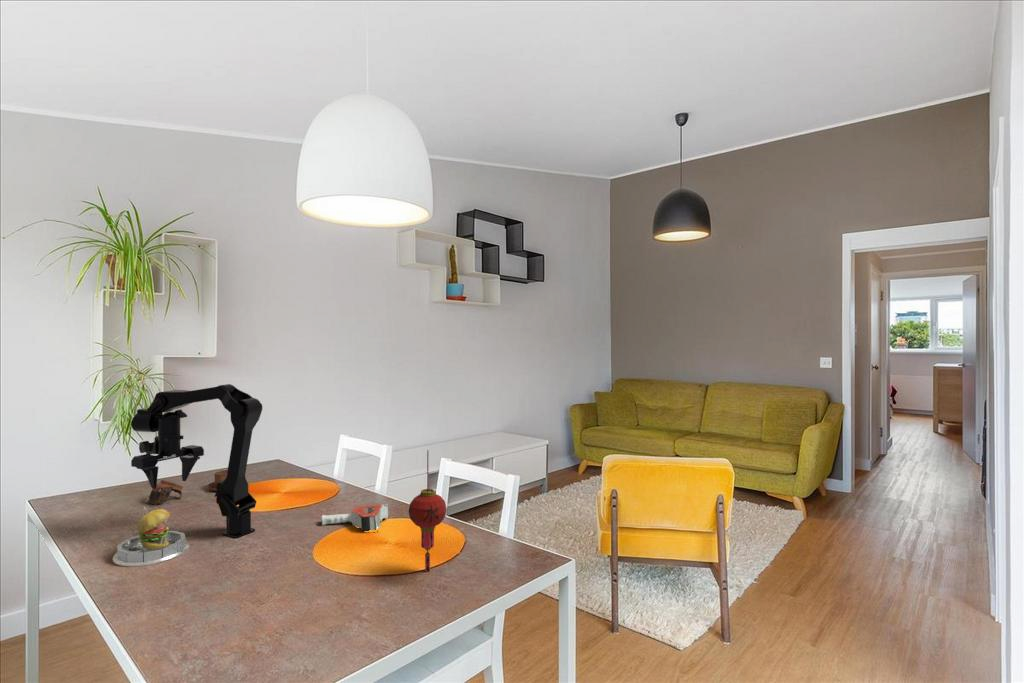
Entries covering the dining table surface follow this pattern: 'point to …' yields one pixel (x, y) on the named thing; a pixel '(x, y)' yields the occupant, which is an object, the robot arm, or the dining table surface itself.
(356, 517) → the tape dispenser
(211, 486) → the cup and saucer
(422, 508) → the lantern
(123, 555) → the collar
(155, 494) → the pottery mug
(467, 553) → the dining table surface
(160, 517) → the hamburger
